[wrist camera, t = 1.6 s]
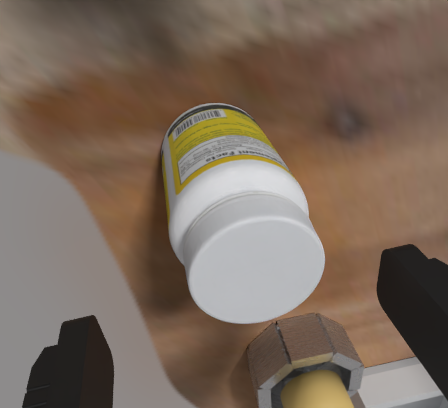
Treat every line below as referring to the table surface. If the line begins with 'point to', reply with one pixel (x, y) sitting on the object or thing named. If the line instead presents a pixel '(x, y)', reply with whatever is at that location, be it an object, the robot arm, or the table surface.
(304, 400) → the yellow rounded lump
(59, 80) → the table surface
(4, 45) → the table surface
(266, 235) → the supplement bottle
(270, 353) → the socket
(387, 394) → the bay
